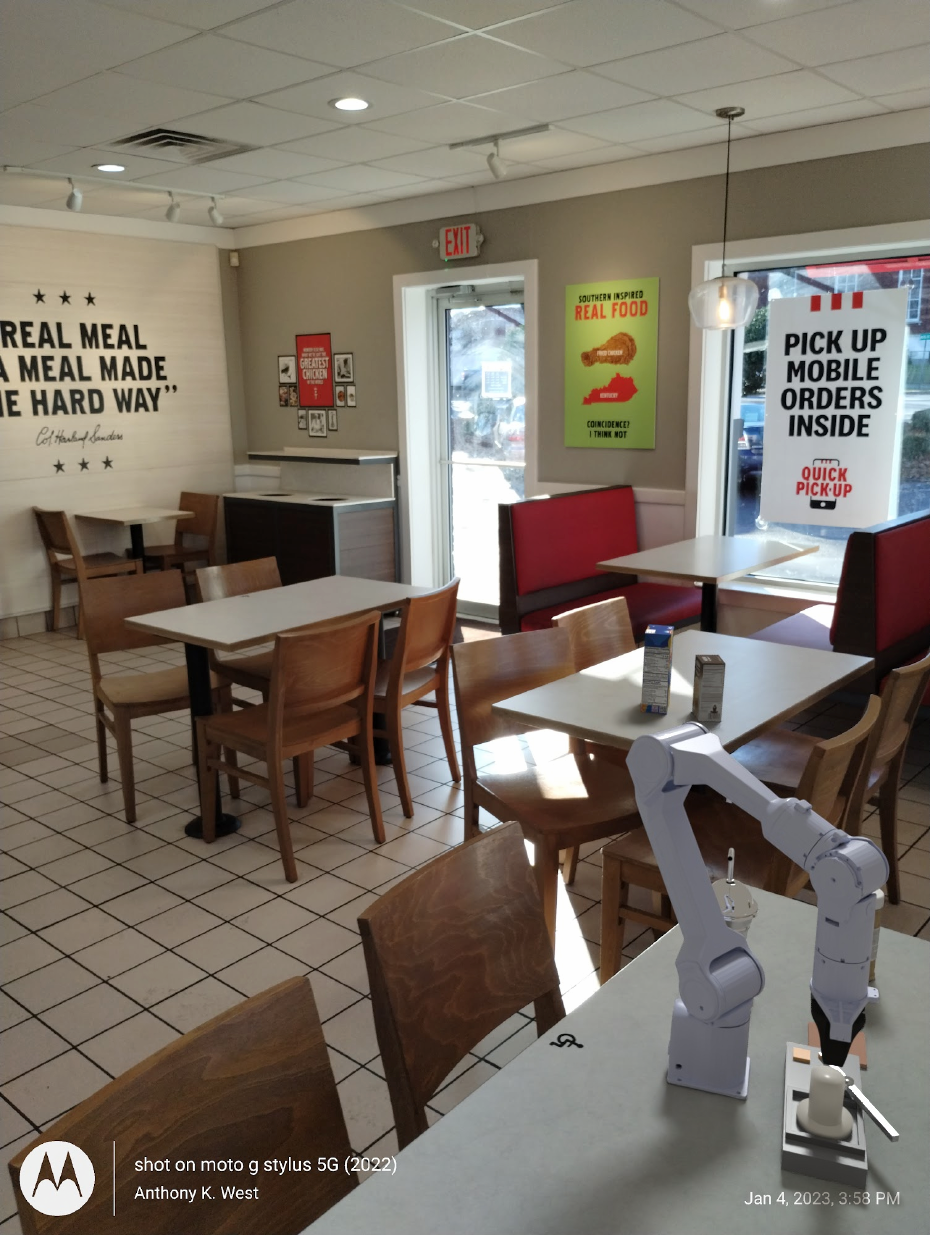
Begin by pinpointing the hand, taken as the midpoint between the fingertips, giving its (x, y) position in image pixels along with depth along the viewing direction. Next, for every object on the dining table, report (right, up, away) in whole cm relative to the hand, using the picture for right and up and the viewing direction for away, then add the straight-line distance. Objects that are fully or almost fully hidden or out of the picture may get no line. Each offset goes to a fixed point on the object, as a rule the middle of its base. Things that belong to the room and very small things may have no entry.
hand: (832, 1061), depth 111 cm
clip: (+4, -7, +4) cm, 9 cm away
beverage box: (+11, +24, +164) cm, 166 cm away
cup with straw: (-3, -3, +37) cm, 37 cm away
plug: (0, -8, +2) cm, 8 cm away
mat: (+8, -7, +19) cm, 22 cm away
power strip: (+1, -9, +6) cm, 11 cm away
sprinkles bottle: (+17, -3, +36) cm, 40 cm away
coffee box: (+24, +23, +156) cm, 160 cm away
